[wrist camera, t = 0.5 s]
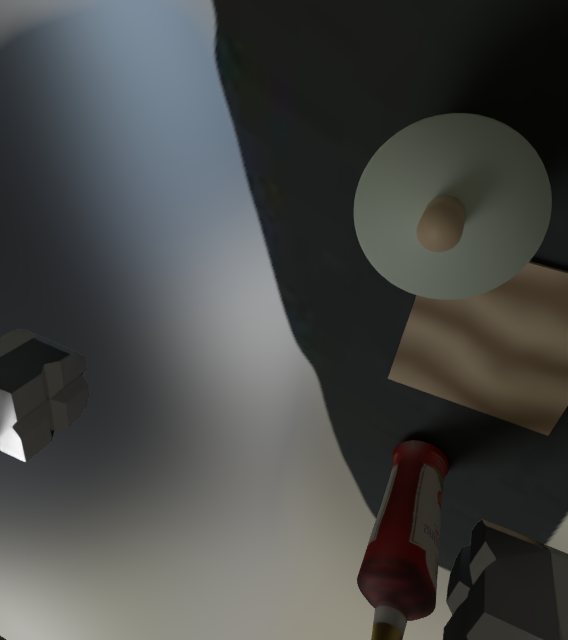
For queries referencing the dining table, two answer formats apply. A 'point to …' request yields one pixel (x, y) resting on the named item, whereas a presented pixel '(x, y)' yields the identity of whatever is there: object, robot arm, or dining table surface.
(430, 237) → the lid
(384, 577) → the liquor
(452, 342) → the plate
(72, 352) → the robot arm
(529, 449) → the dining table surface
